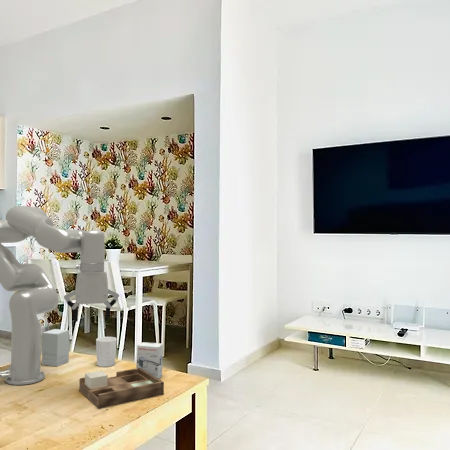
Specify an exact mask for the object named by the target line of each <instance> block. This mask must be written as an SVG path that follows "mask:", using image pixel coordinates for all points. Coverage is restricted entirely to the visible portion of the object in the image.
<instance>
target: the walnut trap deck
mask: <svg viewBox="0 0 450 450" xmlns="http://www.w3.org/2000/svg"><path fill="white" fill-rule="evenodd" d="M115 375H116V376H111V377H108V380H107V386H106V387H100V388H95V389H90V388H88V387H87V386H86V385H85V377H80V378H79V379H78V380H79V386H78V389H79V392H80V393H81V394H82V395H83V396H84V397H86V398H87V399H88V401H90V402H91V404H92V403H93V405H94V406H95V407H96V408H97V409H98V410H99V409H105V408H109V407H113V406H118V405H122V404H126V403H130V402H131V403H132V402H136V401H140V400H146V399H150V398H153V397H154V398H155V397H159V396H162V395H164V391H165V382H164V381H163V380H161V379H160V378H159V379H158V378H156V377H155V376H153V375H151V374H149V373H148V372H146V371H144V370H143V369H141V368H136V367H135V368H131V369H125V370H120V371H116V373H115Z"/></svg>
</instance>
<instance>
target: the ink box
mask: <svg viewBox="0 0 450 450" xmlns="http://www.w3.org/2000/svg"><path fill="white" fill-rule="evenodd" d="M136 347H137V348H136V367H135V369H136V368H141V369H143V370H144V371H146V372H148V373H149V374H151V375H153V376H155V377H156V378H158V379H160V378H162V377H163V359H164V355H163V353H164V351H163V350H164V344H163V343H158V342H140V343H139V344H137V345H136Z"/></svg>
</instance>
